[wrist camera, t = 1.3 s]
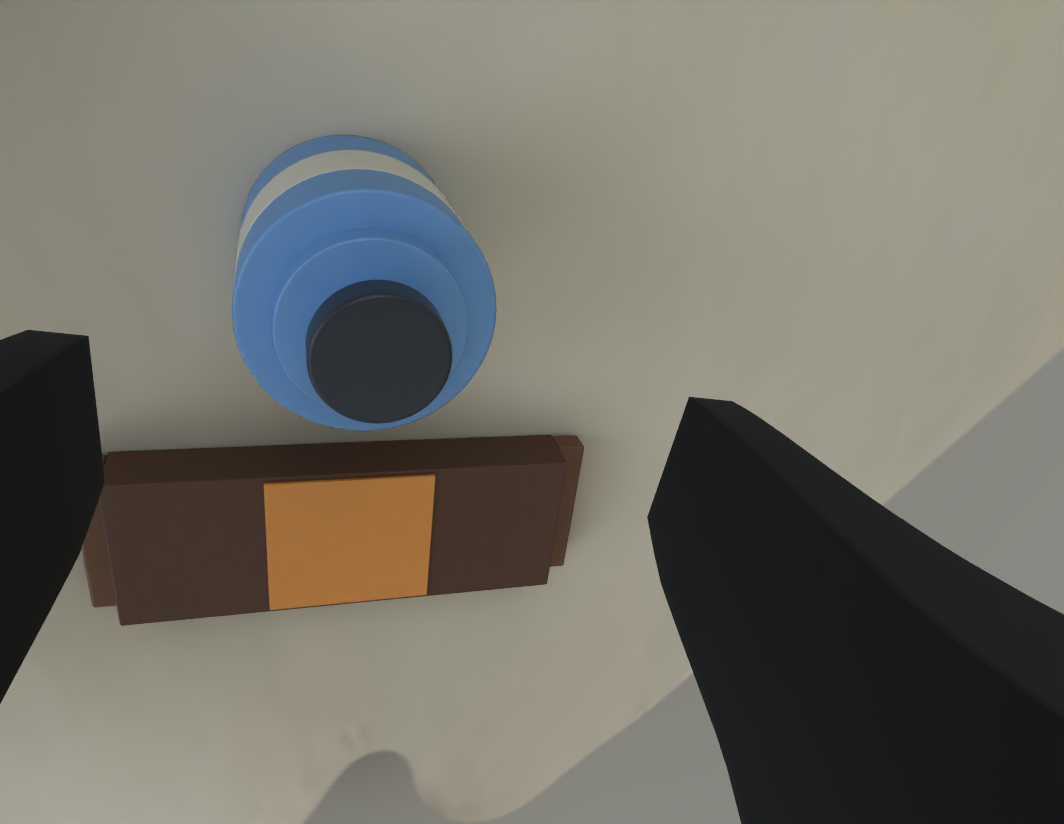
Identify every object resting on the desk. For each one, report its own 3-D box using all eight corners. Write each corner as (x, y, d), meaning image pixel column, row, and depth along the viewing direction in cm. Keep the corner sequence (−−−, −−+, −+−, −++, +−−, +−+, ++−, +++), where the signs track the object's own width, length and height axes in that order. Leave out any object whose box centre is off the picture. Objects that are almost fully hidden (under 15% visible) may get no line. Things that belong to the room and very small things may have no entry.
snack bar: (97, 589, 22) (85, 632, 21) (72, 452, 20) (57, 490, 19) (556, 550, 26) (572, 584, 25) (576, 433, 24) (595, 463, 23)
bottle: (360, 370, 21) (392, 527, 15) (193, 248, 18) (158, 382, 13) (491, 233, 20) (578, 345, 15) (337, 84, 18) (368, 149, 12)
